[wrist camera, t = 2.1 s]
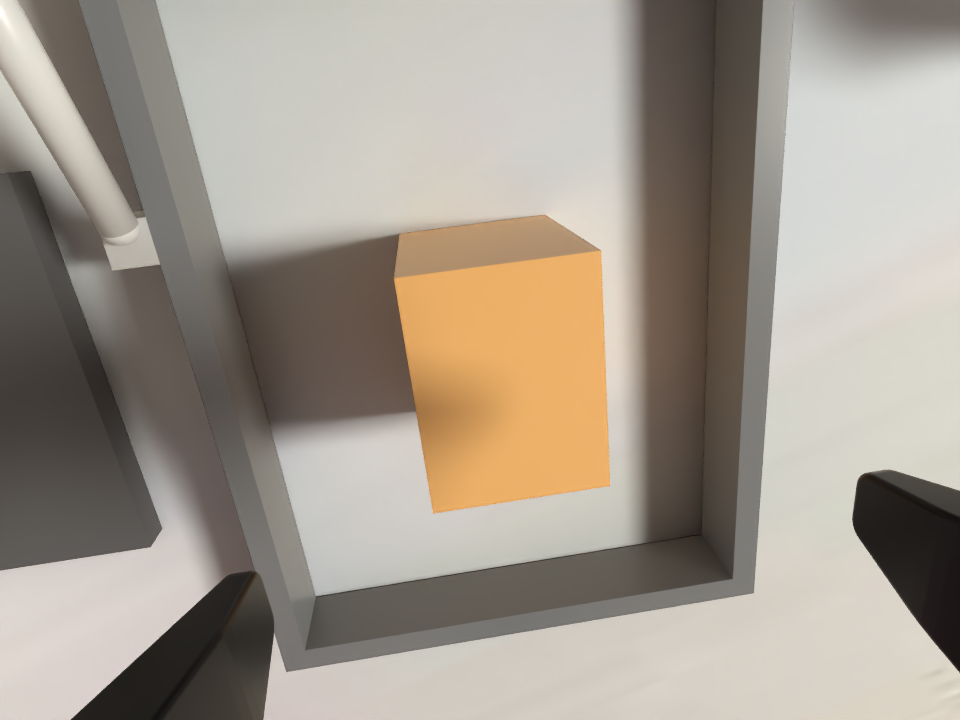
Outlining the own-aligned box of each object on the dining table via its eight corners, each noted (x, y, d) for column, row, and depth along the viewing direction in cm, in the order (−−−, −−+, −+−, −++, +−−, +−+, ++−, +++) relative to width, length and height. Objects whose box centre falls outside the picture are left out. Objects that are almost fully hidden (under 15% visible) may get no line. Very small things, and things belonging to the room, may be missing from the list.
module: (557, 390, 21) (610, 485, 15) (427, 409, 21) (433, 513, 15) (544, 214, 19) (600, 250, 13) (399, 233, 18) (393, 278, 13)
